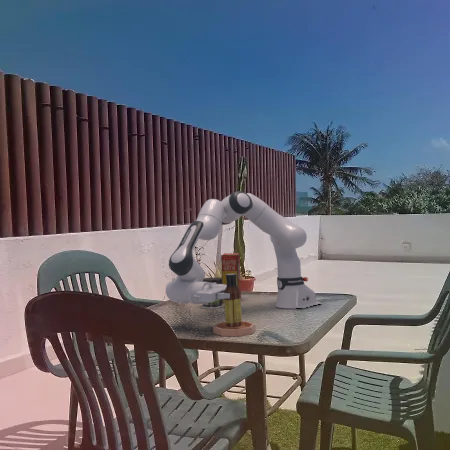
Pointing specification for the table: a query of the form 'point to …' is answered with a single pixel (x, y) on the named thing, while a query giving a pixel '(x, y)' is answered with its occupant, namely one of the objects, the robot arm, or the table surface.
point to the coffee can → (216, 303)
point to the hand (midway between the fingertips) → (234, 294)
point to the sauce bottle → (232, 302)
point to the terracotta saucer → (234, 329)
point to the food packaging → (231, 268)
